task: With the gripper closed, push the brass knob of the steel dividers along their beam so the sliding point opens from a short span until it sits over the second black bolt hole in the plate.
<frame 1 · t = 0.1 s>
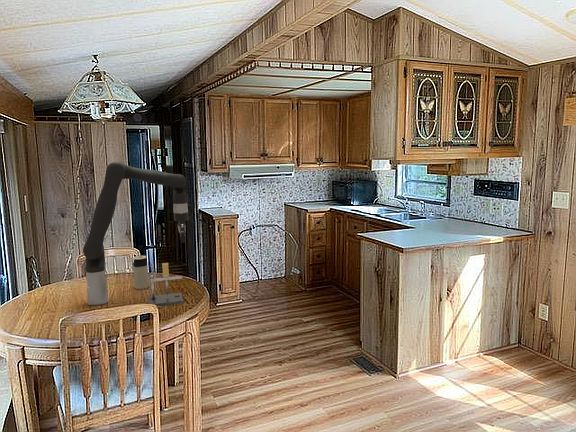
hand: (182, 241, 242), 29 cm above the table, tool pointing down, fingers open, 8 cm apart
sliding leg: (166, 280, 232), point 11 cm above the table, slide at -5.0 cm
bolt plate: (165, 301, 233), on the table
travel mug: (142, 287, 258), on the table
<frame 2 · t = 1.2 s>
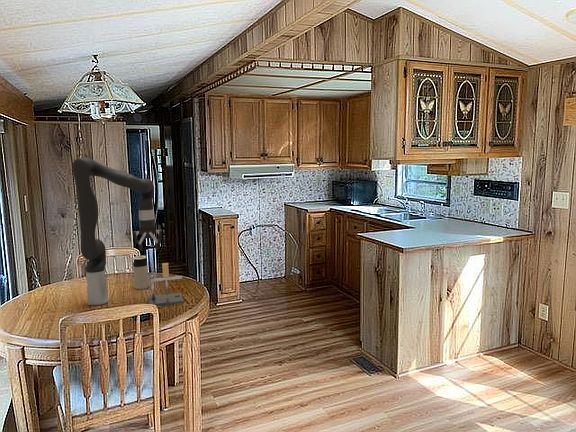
hand: (149, 250, 228), 28 cm above the table, tool pointing down, fingers open, 6 cm apart
nothing on the table moved.
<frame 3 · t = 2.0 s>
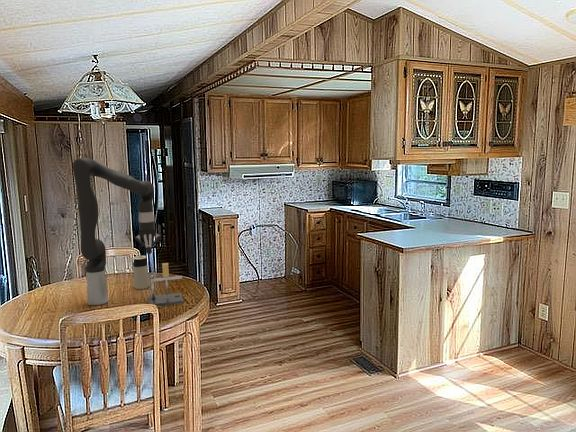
hand: (149, 254, 228), 26 cm above the table, tool pointing down, fingers closed
nothing on the table moved.
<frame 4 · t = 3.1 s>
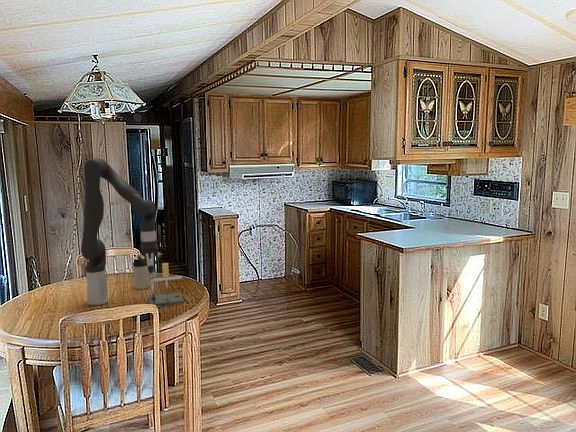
hand: (151, 272, 229), 16 cm above the table, tool pointing down, fingers closed
nothing on the table moved.
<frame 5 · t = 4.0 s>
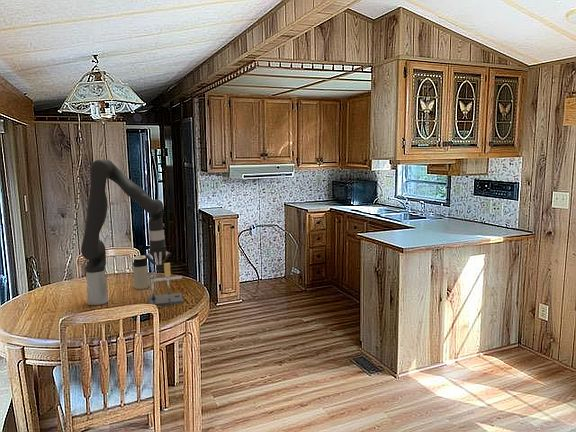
hand: (159, 271, 230), 16 cm above the table, tool pointing down, fingers closed
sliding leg: (168, 280, 232), point 11 cm above the table, slide at -4.1 cm, touching gripper
everything else where it was.
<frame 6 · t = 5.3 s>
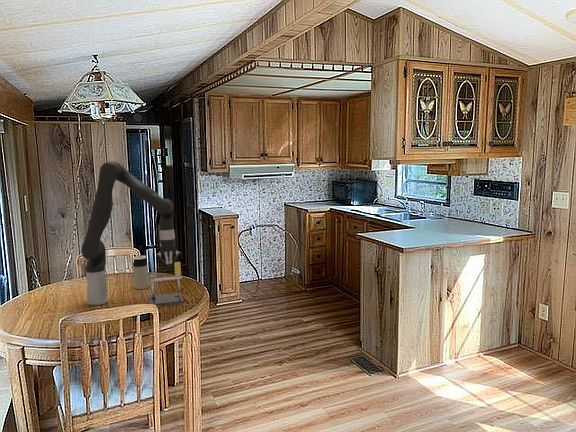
hand: (169, 270, 232), 16 cm above the table, tool pointing down, fingers closed
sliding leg: (178, 279, 234), point 11 cm above the table, slide at 1.1 cm, touching gripper
everything else where it was.
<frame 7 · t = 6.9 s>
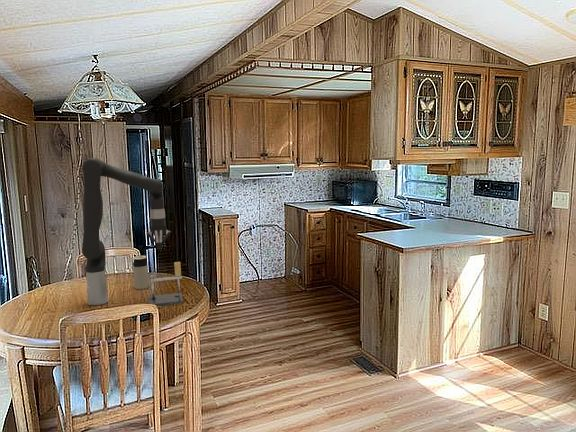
hand: (159, 249, 238), 26 cm above the table, tool pointing down, fingers closed
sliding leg: (178, 279, 234), point 11 cm above the table, slide at 1.1 cm
everything else where it was.
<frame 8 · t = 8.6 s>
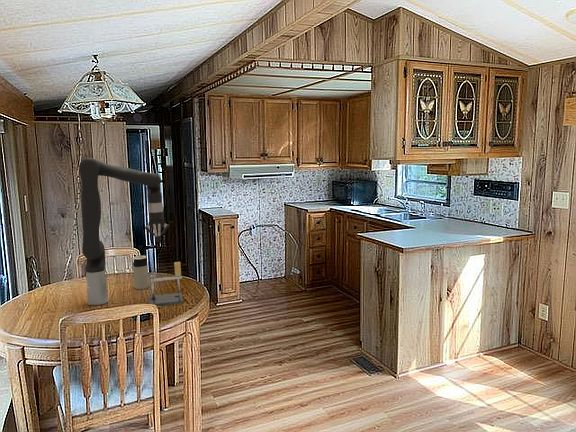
hand: (158, 242, 240), 29 cm above the table, tool pointing down, fingers closed
nothing on the table moved.
at the end: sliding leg slide at 1.1 cm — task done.
